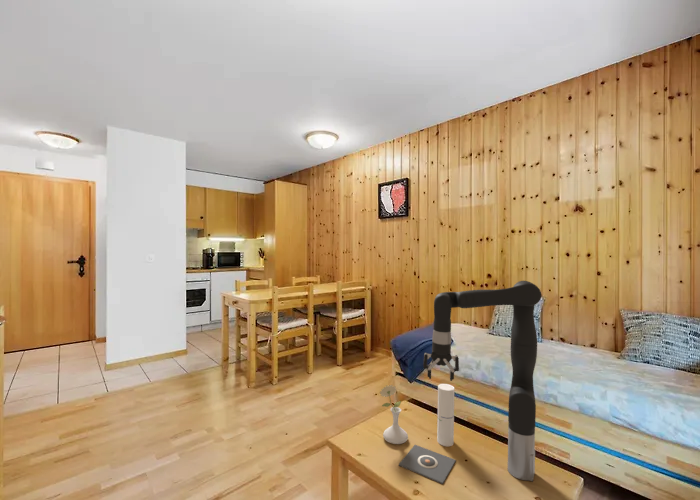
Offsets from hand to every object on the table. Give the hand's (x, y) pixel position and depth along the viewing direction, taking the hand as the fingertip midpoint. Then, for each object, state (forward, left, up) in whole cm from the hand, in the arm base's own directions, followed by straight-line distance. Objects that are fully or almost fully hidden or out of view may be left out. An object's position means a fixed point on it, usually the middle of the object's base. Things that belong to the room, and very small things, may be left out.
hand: (440, 379), depth 139 cm
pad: (+2, +7, -33) cm, 34 cm away
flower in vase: (+21, 0, -33) cm, 39 cm away
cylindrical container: (+1, -12, -33) cm, 35 cm away
